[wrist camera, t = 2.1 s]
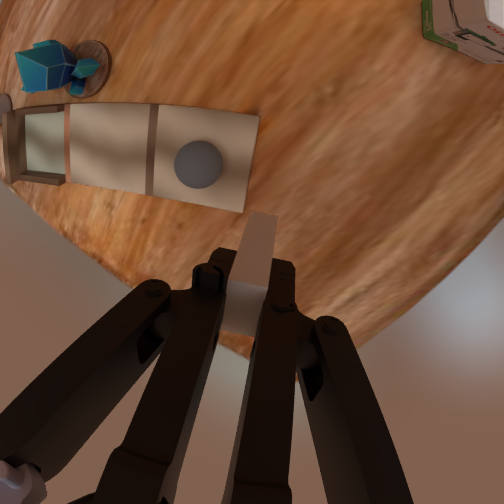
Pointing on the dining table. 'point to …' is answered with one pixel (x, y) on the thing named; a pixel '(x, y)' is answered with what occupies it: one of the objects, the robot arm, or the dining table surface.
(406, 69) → the dining table surface
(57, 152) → the lane
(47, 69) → the gemstone
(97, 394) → the robot arm
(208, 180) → the ball
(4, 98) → the beverage can
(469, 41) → the ink box
